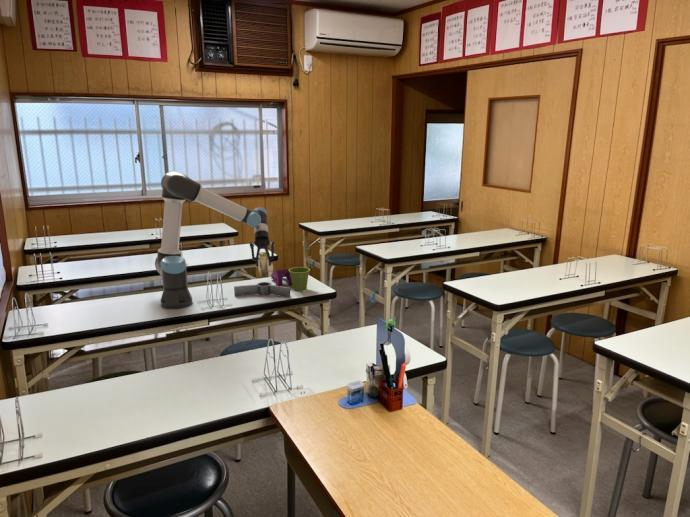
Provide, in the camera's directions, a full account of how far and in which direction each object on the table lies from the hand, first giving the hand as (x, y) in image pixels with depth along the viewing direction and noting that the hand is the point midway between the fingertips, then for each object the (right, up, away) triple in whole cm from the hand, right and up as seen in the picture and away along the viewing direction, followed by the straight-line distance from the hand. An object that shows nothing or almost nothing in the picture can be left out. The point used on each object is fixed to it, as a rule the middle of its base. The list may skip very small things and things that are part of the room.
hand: (263, 271), depth 261 cm
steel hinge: (-1, -12, +6) cm, 14 cm away
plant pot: (+17, -11, +14) cm, 25 cm away
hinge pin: (-1, -2, +4) cm, 5 cm away
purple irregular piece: (+6, -7, +26) cm, 28 cm away
